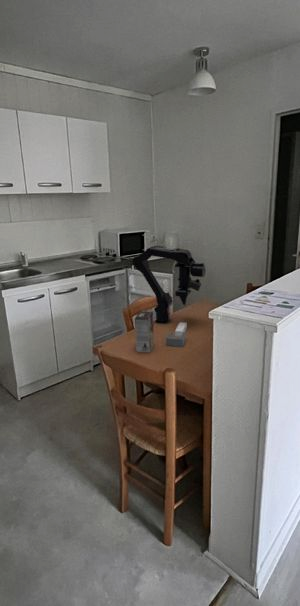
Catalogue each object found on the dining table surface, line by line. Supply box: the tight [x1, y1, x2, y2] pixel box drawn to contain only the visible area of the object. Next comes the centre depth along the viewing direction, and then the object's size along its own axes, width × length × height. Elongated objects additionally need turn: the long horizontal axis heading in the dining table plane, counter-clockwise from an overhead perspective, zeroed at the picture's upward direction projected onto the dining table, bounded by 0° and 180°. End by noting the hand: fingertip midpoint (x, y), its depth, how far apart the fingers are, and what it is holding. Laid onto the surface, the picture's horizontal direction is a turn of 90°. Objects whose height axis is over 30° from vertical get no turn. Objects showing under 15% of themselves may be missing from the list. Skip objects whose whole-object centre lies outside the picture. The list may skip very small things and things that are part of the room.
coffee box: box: [134, 311, 155, 353], centre depth 159 cm, size 9×6×16 cm
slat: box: [174, 321, 188, 338], centre depth 179 cm, size 4×12×3 cm, turn 164°
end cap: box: [165, 330, 187, 348], centre depth 166 cm, size 8×8×4 cm
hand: (184, 304), depth 186 cm, fingers closed
